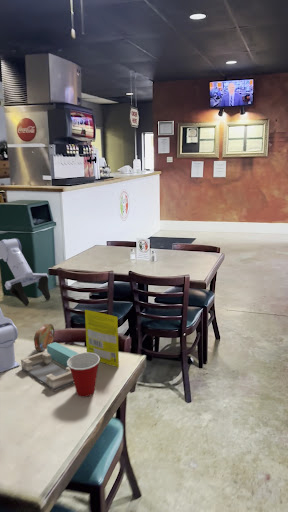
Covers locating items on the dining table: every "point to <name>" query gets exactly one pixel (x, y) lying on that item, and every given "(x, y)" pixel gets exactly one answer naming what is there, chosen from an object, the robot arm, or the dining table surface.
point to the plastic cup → (84, 372)
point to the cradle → (47, 371)
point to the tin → (44, 337)
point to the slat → (60, 353)
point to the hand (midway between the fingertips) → (38, 301)
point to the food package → (102, 336)
